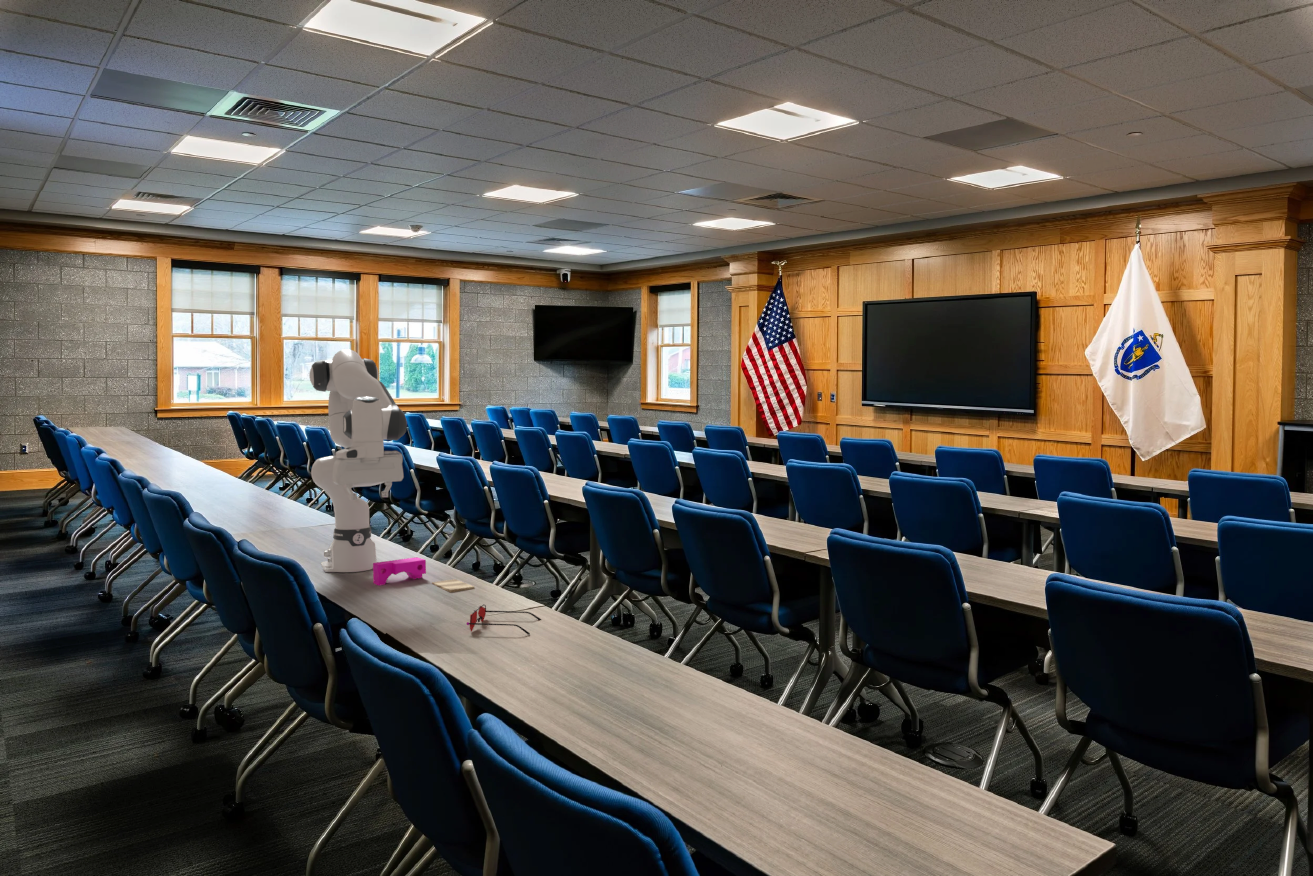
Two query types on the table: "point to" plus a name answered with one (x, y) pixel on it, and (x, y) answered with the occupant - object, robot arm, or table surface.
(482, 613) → the glasses
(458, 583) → the wooden board
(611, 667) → the table surface
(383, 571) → the toy block
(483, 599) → the table surface
